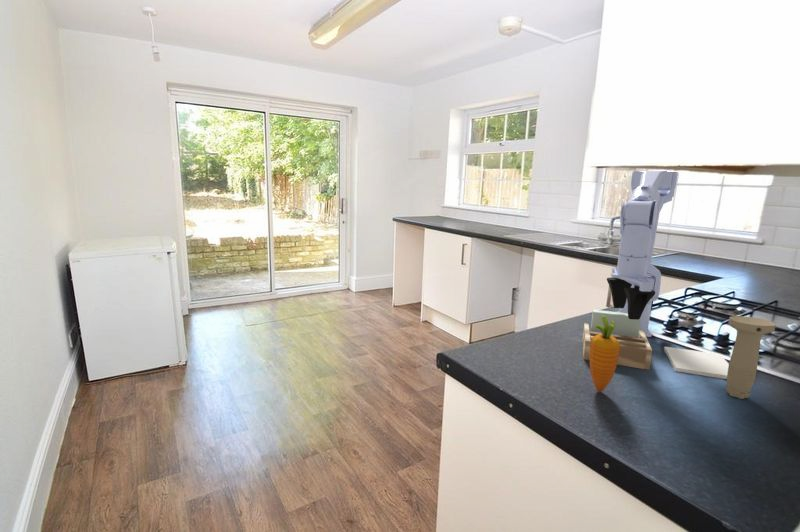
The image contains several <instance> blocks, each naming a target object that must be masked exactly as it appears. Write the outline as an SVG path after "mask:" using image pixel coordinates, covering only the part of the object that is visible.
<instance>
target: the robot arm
mask: <svg viewBox="0 0 800 532" xmlns="http://www.w3.org/2000/svg"><path fill="white" fill-rule="evenodd" d="M678 176H679V171H678V172H667V171H633V170H632V174H631V180H630V187H631V193H630V196H629V199H628V200H627V201H626V202H623V203H622V205H621V208H620V214H619V222H620V229H619V234H620V240H619V249H618V258H617V267H615V266H614V267H611V268H612V270H611V274H610V277H607V278H606V281H607V283H608V286H609V289H610V293H611V298H612V306H613V308H614V309H618V312H620V313H628V318H629V319H636V320H639V319H640V317H641V320H640V327H639V330H642V331H644V333H645V336H646V338H651V337H652V334H651V331H650V330H649V324H650V316H651V310H652V304H653V301H654V302H655V301H657V300H658V299H659V296H660V291H661V285H662V273H661V270H660V269H658V268H657V267H656V266H654V265H653V264H652V260H653V254H654V248H655V242H656V238H657V237H656V236H657V231H658V230H657V229H658V224H659V218H660V213H661V210H662V209H663V207H664V205H665V204H667V203H669V202H672V201H673V198H674V196H675V192H676V191H675V190H676V186H677V182H678Z"/></svg>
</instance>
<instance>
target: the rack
mask: <svg viewBox="0 0 800 532" xmlns="http://www.w3.org/2000/svg"><path fill="white" fill-rule="evenodd" d="M598 334H602V333H599V332H592V331H591V330H590V325H589V323H585V322H584V323H583V331H582V354H583V355H582V356H583V360H585V361H589V358H590V342H591V338H592V337H594V336H596V335H598ZM611 336H613V337H615V338H616V339H617V340H618V342H619V343H620V350H619V357H618V362H617V366H622V367H623V366H624V367H629V368H636V369H637V368H638V369H641V370H648V371H650V369H651V362H652V357H653V356H652V355H653V349H652V347H651V345H650V343H649V340H648V337H646V336H645V333H644V331H642V330H639V335H638V338H636V337H629V336H621V335H614V334H611Z"/></svg>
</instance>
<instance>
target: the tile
mask: <svg viewBox="0 0 800 532" xmlns="http://www.w3.org/2000/svg"><path fill="white" fill-rule="evenodd" d="M663 351H664V353H665V354H666V356H667V358H668V359H669V362H670V364H671V366H672V367H673V369H674V371H675V372H679V373H686V374H692V375H699V376H703V377H704V376H705V377H710V378H711V377H713V378H718V379H723V380H724V379H725V380H727V374H728V366H729V362H728V361H727V360H726V359H725V358H724V357H723V355H721V353H715V352H714V353H713V352H709V351H708V352H707V351H701V350H700V351H699V350H692V349H685V348H679V347H670V346H666V345H665V346H664V347H663Z"/></svg>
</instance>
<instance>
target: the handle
mask: <svg viewBox="0 0 800 532" xmlns="http://www.w3.org/2000/svg"><path fill="white" fill-rule="evenodd" d="M728 325H730V327H731V328H733V329H734V330H736V338H735V341H734V345H733V349H732V352H731V356H730V359H729V362H728V364H729V366H728V374H727V379H726V383H727V384H726V386H725V387H726V388H725V389H726V393H727V394H728V395H729V396H730V397H733V398H737V399H740V400H744V399H748V398H749V397H750V395H751V390H752V388H753V385H754V384H755V379H756V376H757V372H758V365H759V364H758V362H759V354H760V348H761V340H762V338H763V335H765V334H766V335H767V334H770V333H774V332H775V329H776V326H777V324H776V323H775V322H773V321H771V320H767V319H765V318H758V317H752V316H744V315H743V316H741V315H740V316H739V315H738V316H737V315H734V316H733V315H732V316H729V318H728Z"/></svg>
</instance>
